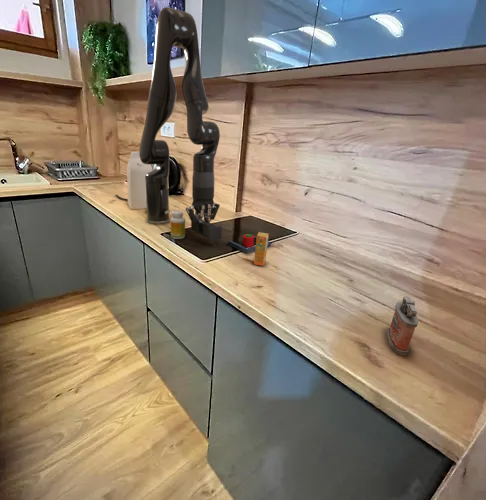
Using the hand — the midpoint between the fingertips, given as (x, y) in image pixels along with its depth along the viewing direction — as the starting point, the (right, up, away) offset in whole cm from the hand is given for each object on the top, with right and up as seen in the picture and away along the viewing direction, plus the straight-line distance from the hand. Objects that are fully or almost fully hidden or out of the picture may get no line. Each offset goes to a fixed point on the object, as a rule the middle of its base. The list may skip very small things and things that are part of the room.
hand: (202, 232), depth 110 cm
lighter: (+44, -26, -46) cm, 69 cm away
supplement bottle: (-10, -2, +5) cm, 11 cm away
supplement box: (+19, -11, -14) cm, 26 cm away
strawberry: (+17, -5, 0) cm, 17 cm away
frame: (+17, -5, 0) cm, 17 cm away
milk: (-34, +16, +44) cm, 57 cm away
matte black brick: (+1, -1, 0) cm, 1 cm away
